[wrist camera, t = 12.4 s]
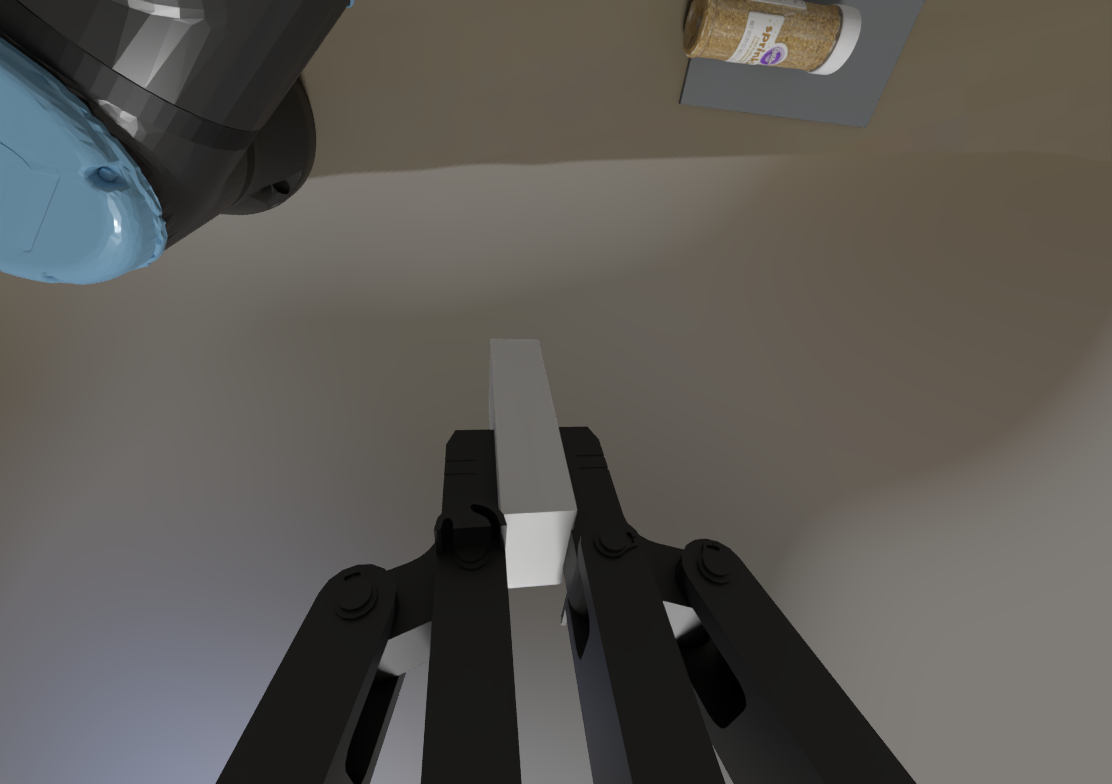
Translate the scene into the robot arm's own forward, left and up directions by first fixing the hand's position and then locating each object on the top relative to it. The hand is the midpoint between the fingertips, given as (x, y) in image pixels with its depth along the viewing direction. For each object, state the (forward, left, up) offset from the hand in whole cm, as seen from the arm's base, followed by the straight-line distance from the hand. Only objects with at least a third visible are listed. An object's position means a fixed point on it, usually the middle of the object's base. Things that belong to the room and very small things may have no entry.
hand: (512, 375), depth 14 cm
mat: (+28, +12, -34) cm, 46 cm away
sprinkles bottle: (+16, +12, -32) cm, 38 cm away
